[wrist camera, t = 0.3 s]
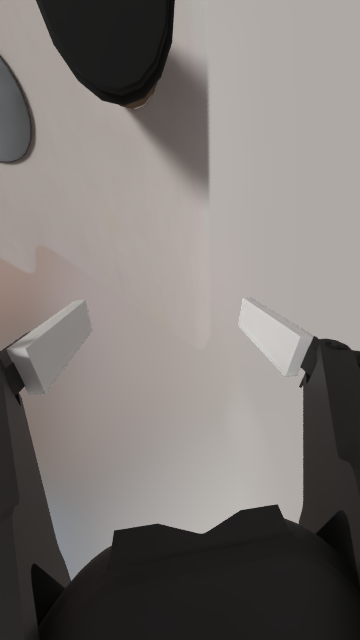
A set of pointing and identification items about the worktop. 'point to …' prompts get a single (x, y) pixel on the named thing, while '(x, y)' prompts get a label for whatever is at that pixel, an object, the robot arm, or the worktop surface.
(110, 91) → the coffee cup
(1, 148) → the slate coaster
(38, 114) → the worktop surface
